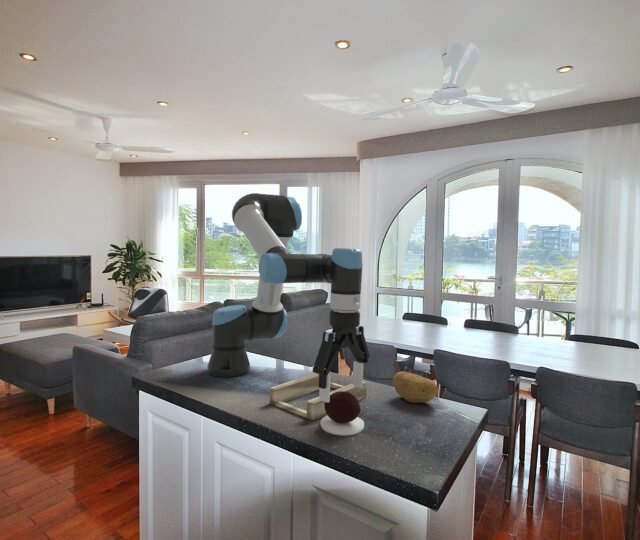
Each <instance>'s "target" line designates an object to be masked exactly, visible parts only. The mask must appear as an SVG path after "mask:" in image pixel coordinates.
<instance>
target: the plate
mask: <svg viewBox="0 0 640 540" xmlns="http://www.w3.org/2000/svg"><path fill="white" fill-rule="evenodd" d="M320 428H321V429H322V430H323V431H324V432H325V433H328V434H331V435H336V436H339V437H340V436H342V437H343V436H344V437H345V436H354V435H357V434H358V435H359V434H360V433H361V432H362V431H364V429H365V422H364V420H363V419H362V418H361V417H359V416H357V418H356V419H354V420H353V421H351V422H348V423H336V422H334V421H333V420H331V419H330V418H329V417H328V415H326V416H323V417H321V418H320Z"/></svg>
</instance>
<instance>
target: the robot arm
mask: <svg viewBox="0 0 640 540" xmlns="http://www.w3.org/2000/svg"><path fill="white" fill-rule="evenodd" d="M231 218H232V222H233V224H234V226H235V227H236V229H237V230H238V231H239V232H241V233H243V234H244V235H245V237H246V239H247V240H248V242H249V244H250V245H251V247H252V249H253V250H254V251H255V253H256V255H257V256H258V258H259V260H258V274H259V275H258V276H259V279H258V286H257V294H256V295H257V296H256V299H255V300H253V301H252V303H251V308H247V307H246V306H245V305H243V304H239V305H238V304H236V305H227V306H224V307H220V308H219V307H218V308H217V309H216V310H215V311H214V312H213V315H212V323H211V324H212V351H211V354H210V357H209V360H208V364H207V367H206V368H207V369H206V371H207V374H208V375H211V376H213V377H219V378H232V377H238V376H240V377H241V376H243V375H247V374H248V373H249V372H250V371H251V363H250V360H249V356H248V353H247V350H246V342H248V341H251V342H252V341H259V340H273V339H277V338H281V336H283V335H284V334H285V331H286V329H287V325H288V313H287V311H286V309H285V308H284V305H283V304H282V302H281V296H282V288H283V284H302V283H305V284H309V283H311V284H314V283H318V284H319V283H324V284H325V283H327V284H330V295H329V296H330V298H329V299H330V301H329V308H330V309H331V310H330V311H329V325H330V326H331V327H332V330H331V332H328V331H324V332H323V333H322V341H321V343H320V347H319V348H318V353H317V356H316V359H315V361H314V363H313V364H314V365H313V367H312V373H313V374H314V373H317V374H319V388H320V389H319V391H318V392H319V395H318V397H319V400H322V401H325V402H327V403H328V402H330V392H331V387H330V382H331V378H332V377H331V374H330V375H329V374H328V373H329V372H331V370H332V367H333V365H334V363H335V361H336V359H337V357H338V355H339V354H340V352H342V351H343V349H346V348H348V349H349V351H350V352H351V354H352V356H353V357H354V359H355V361H353V366H352V383H353V386H356V387H359V388H362V387H363V381H364V367H365V365H364V364H368V361H369V358H370V352H369V348H368V345H367V341H366V336H365V334H364V333H365V330H364V329H365V328H364V326H362V325H360V324H361V323H360V322H361V313H360V309H361V294H362V292H361V291H362V278H363V266H364V264H363V252H362V250H361V249H359V248H346V247H342V248H341V247H335V248H333V250H332V252H331V254H326V253H318V254H315V253H313V254H308V253H307V254H305V253H292V252H290V250H288V243H289V240H291V239H292V238H293V237H294V232H296V231H298V230H300V228H301V226H302V222H303V213H302V207H301V205H300V202H299V201H298V200H297V199H296V198H295V197H292V196H288V195H287V196H286V195H280V194H269V193H268V194H265V193H259V192H258V193H255V192H254V193H253V192H252V193H248V194H246V195H243V196H242V197H240V198H239V199H238V200H237V201H236V202H235V203H234V206H233V208H232V210H231Z"/></svg>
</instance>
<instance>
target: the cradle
mask: <svg viewBox="0 0 640 540" xmlns="http://www.w3.org/2000/svg"><path fill="white" fill-rule="evenodd" d="M328 374H329V375H331V371H329V373H328ZM367 383H368V382H367V381H364V380H363V387H362V388H359V387H356V386H353V382H352V383H350V384H346V385H341V384H338V383H336V382H335V383H334V382H332V381H330V388H332V389H335V390H331V391H330V395H331V394H333V393H335V392H339V391H344V392H349V393H351V394H352V395H354V396H355V397H356V398H357V400H358V401H360V400H363V399H364V398H367V392H368V391H367V389H368V388H367V387H368V385H367ZM319 389H320V388H319V374H317V373H314V372H313V373H312V374H309V375H305V376H302V377H300V378H297V379H294V380H290V381H288V382H287V381H286V382H284V383H281V384H278V385H274V386H272V387H269V404H270V405H273V406H275V407H278V408H280V409H283V410H286V411H288V412H291V413H293V414H296V415H297V416H301V417H303V418H305V419H308V420H310V421H313V422H315V421H317V420H319V419H322V418H323V417H325V416H327V414H326V411H325V407H324V404H325V401H322V400H319V396H317V397H314V398H311V399H309V400H306V410H305V409H303V408H300V407H297V406H295V405H292V404H289V403H286V402H289V401H291V400H295V399H297V398H300V397H302V396H305V395H308V394H311V393H313V392H316V391H318V390H319Z"/></svg>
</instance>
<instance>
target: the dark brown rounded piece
mask: <svg viewBox="0 0 640 540" xmlns="http://www.w3.org/2000/svg"><path fill="white" fill-rule="evenodd" d="M324 407H325V411H326V414H327V415H328V417H329V418H330V419H331V420H333V421H334V422H336V423H348V422H351V421H353V420H354V419H356V418H357V417H359V415H360V414H361V411H362V410H361V405H360V400H357V398H356V397H355V396H354V395H352V394H351V393H349V392H344V391H339V392H335V393H333V394H331V395H330V402H328V403H327V402H325V404H324ZM327 415H326V416H327Z"/></svg>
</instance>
